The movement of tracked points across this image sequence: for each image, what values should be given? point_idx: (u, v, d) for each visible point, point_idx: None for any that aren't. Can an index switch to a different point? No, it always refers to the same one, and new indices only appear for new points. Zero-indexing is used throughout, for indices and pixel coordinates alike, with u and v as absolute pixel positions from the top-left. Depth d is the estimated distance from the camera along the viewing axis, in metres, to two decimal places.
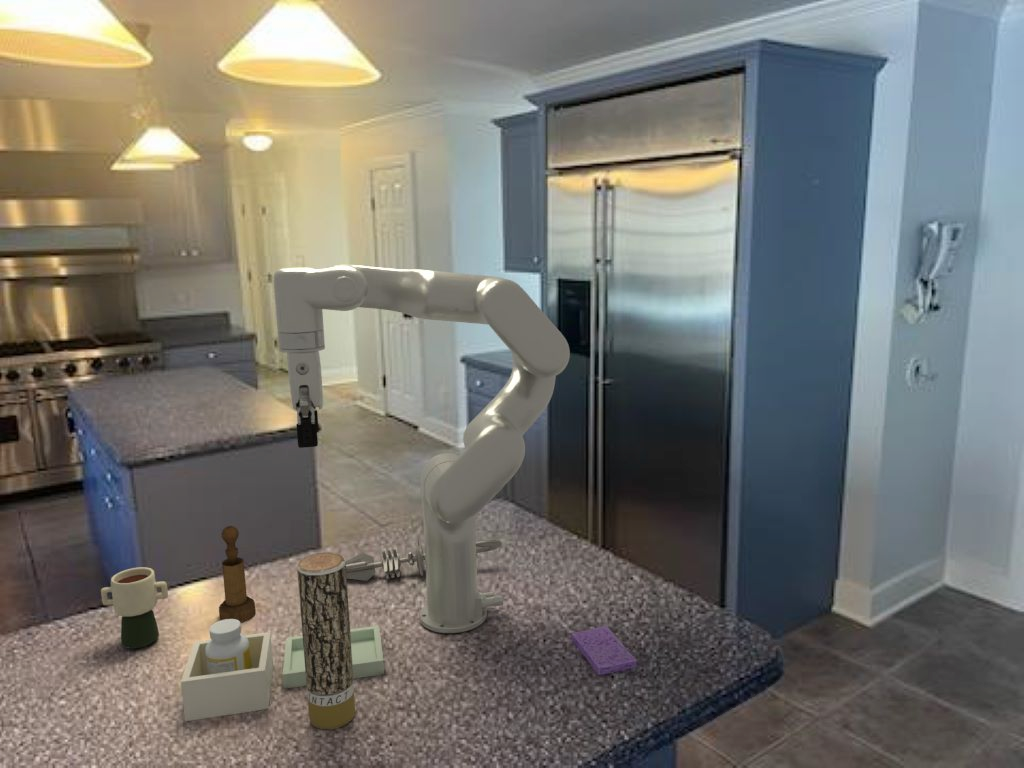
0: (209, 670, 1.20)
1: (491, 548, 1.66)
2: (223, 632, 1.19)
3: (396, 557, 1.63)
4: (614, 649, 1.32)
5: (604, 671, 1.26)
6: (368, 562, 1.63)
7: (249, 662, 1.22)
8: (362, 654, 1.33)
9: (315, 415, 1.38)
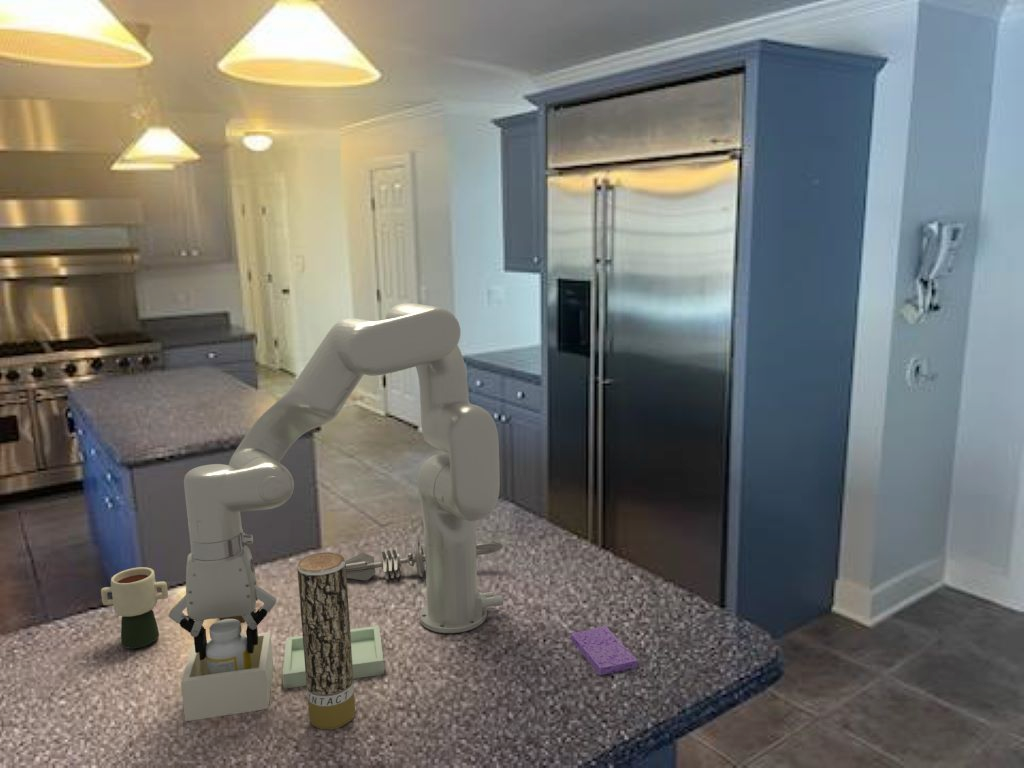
0: (209, 670, 1.20)
1: (491, 550, 1.65)
2: (223, 632, 1.19)
3: (396, 558, 1.62)
4: (614, 649, 1.32)
5: (605, 671, 1.26)
6: (368, 562, 1.63)
7: (249, 662, 1.22)
8: (362, 654, 1.33)
9: (205, 633, 1.22)
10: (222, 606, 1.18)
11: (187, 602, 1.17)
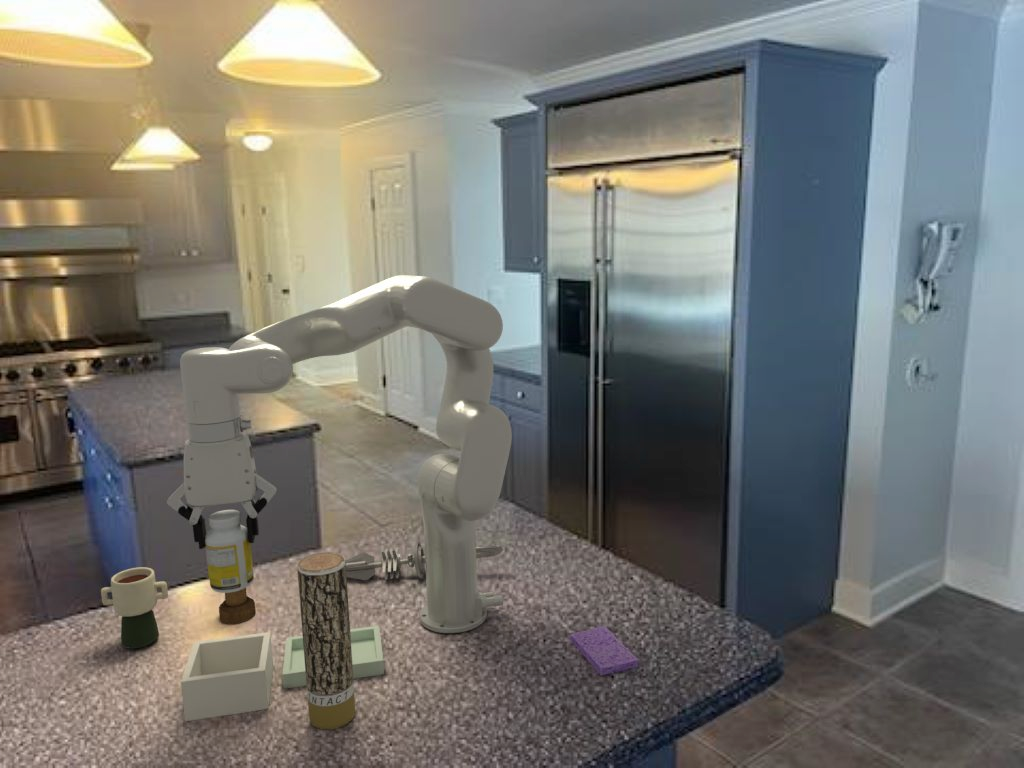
0: (209, 559, 1.17)
1: (492, 554, 1.63)
2: (222, 519, 1.16)
3: (396, 558, 1.62)
4: (614, 649, 1.32)
5: (606, 671, 1.26)
6: (368, 562, 1.63)
7: (249, 553, 1.20)
8: (362, 654, 1.33)
9: (204, 523, 1.19)
10: (221, 492, 1.16)
11: (185, 487, 1.15)
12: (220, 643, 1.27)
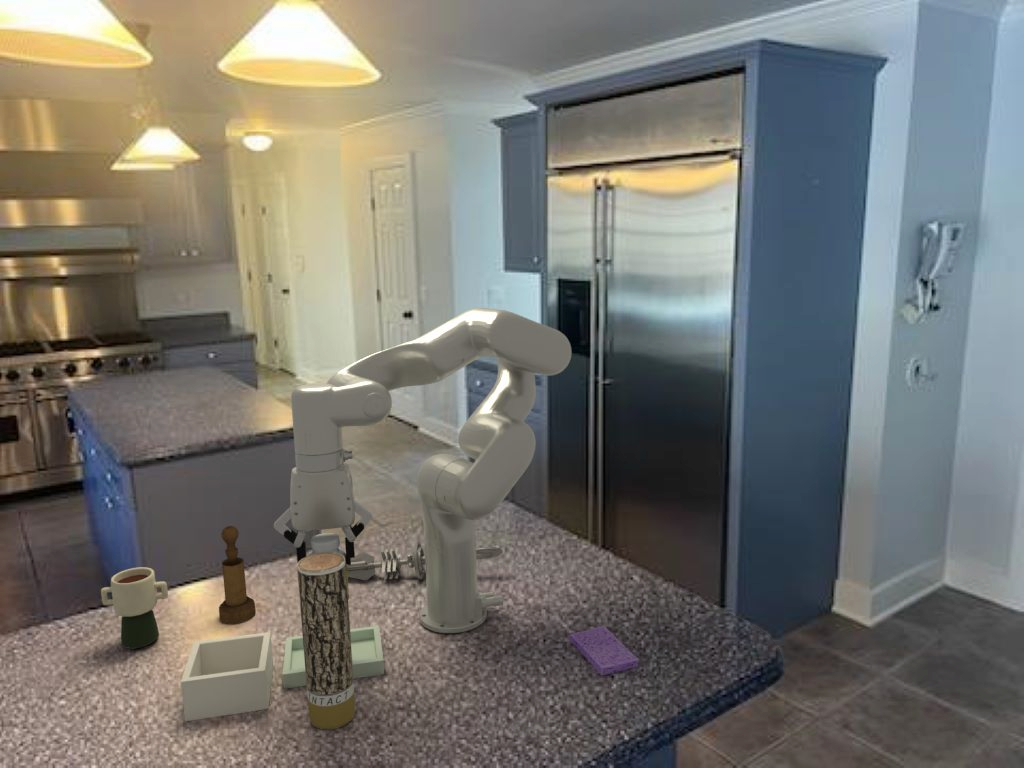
0: None
1: (491, 555, 1.62)
2: (324, 543, 1.25)
3: (395, 559, 1.62)
4: (614, 649, 1.32)
5: (607, 671, 1.26)
6: (368, 562, 1.63)
7: (346, 574, 1.29)
8: (362, 654, 1.33)
9: None
10: (324, 518, 1.24)
11: (292, 513, 1.23)
12: (220, 643, 1.27)
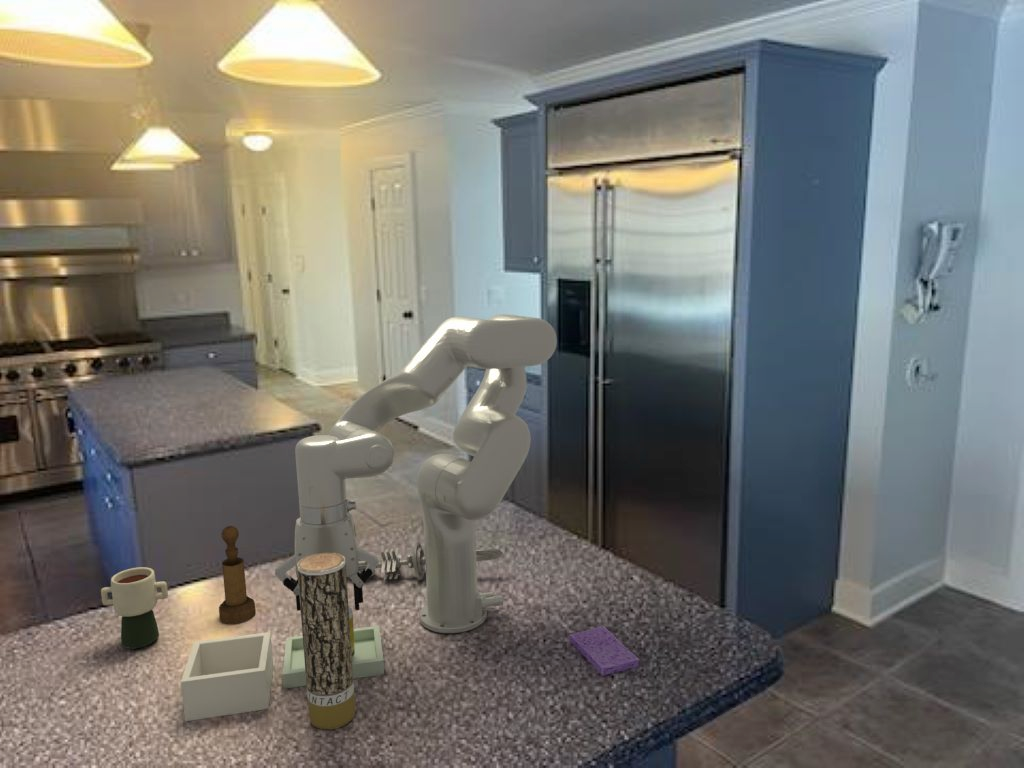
0: None
1: (491, 557, 1.61)
2: None
3: (395, 559, 1.62)
4: (614, 649, 1.32)
5: (607, 671, 1.26)
6: None
7: (353, 629, 1.31)
8: (362, 654, 1.33)
9: None
10: None
11: None
12: (220, 643, 1.27)
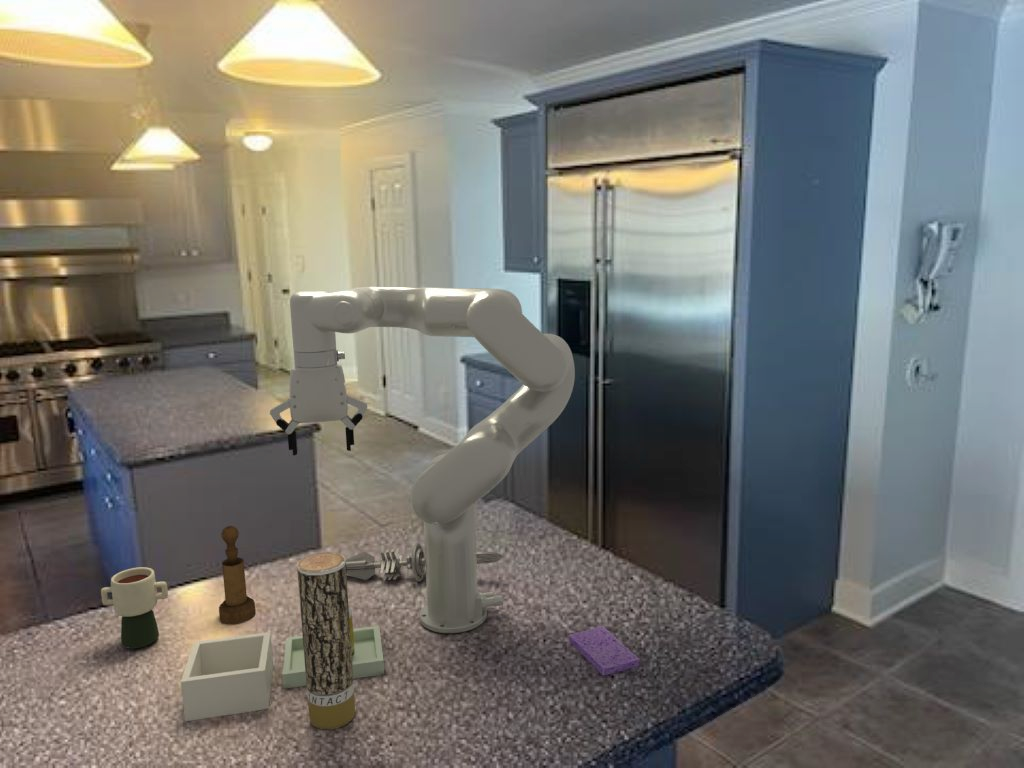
0: None
1: (490, 560, 1.60)
2: None
3: (395, 560, 1.61)
4: (615, 649, 1.32)
5: (608, 671, 1.26)
6: (369, 562, 1.63)
7: (352, 629, 1.31)
8: (362, 654, 1.33)
9: None
10: (320, 411, 1.39)
11: (291, 406, 1.38)
12: (220, 643, 1.27)
